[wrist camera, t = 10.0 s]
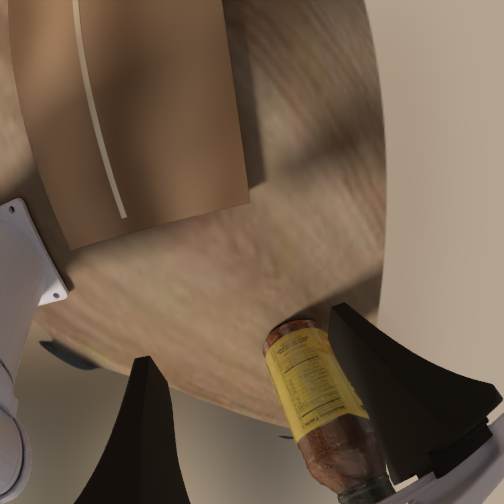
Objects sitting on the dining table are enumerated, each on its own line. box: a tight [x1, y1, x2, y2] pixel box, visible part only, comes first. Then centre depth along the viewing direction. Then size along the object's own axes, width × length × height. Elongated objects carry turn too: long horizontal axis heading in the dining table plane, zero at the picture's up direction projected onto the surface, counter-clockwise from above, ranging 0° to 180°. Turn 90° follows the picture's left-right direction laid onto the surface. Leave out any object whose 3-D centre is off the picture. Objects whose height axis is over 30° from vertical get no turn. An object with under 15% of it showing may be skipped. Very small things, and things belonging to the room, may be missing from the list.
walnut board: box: [8, 0, 250, 250], centre depth 10 cm, size 11×22×2 cm, turn 7°
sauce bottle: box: [263, 319, 396, 504], centre depth 19 cm, size 6×6×20 cm
